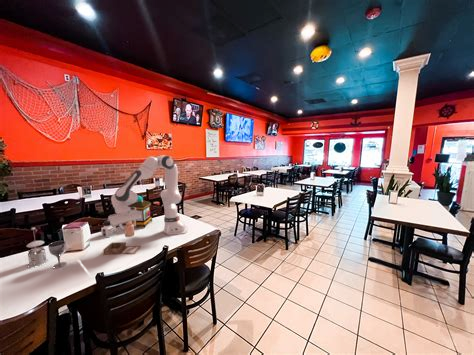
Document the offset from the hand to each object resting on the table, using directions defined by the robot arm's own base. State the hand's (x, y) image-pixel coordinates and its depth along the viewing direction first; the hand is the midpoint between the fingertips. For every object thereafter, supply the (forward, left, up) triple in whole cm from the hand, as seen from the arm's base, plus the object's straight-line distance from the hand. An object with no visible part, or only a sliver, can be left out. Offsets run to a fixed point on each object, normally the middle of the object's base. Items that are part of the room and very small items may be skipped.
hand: (129, 227), depth 139 cm
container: (+32, -28, -19) cm, 47 cm away
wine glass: (+38, +16, -19) cm, 45 cm away
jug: (0, 0, -6) cm, 6 cm away
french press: (+54, +13, -19) cm, 59 cm away
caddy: (+6, 0, -19) cm, 20 cm away
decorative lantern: (+15, -51, -19) cm, 57 cm away
